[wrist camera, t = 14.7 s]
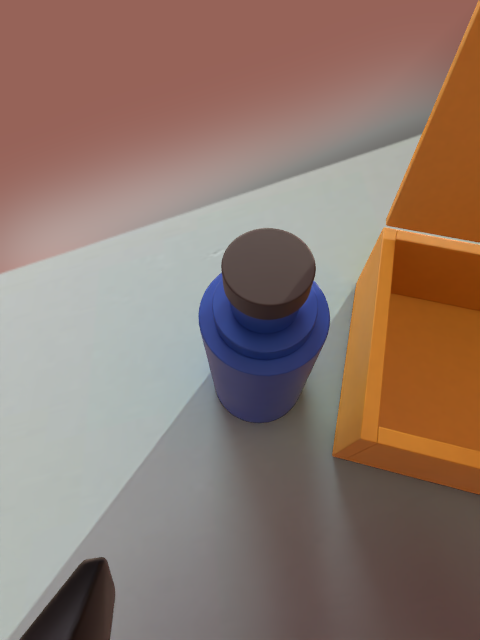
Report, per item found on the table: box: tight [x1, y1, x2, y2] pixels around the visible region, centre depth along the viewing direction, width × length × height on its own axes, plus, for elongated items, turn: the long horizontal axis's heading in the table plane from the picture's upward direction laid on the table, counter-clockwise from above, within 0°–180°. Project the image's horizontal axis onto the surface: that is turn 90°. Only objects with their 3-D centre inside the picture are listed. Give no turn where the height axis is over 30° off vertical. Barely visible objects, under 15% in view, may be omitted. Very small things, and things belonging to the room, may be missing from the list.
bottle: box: [199, 228, 330, 423], centre depth 17 cm, size 5×5×12 cm
